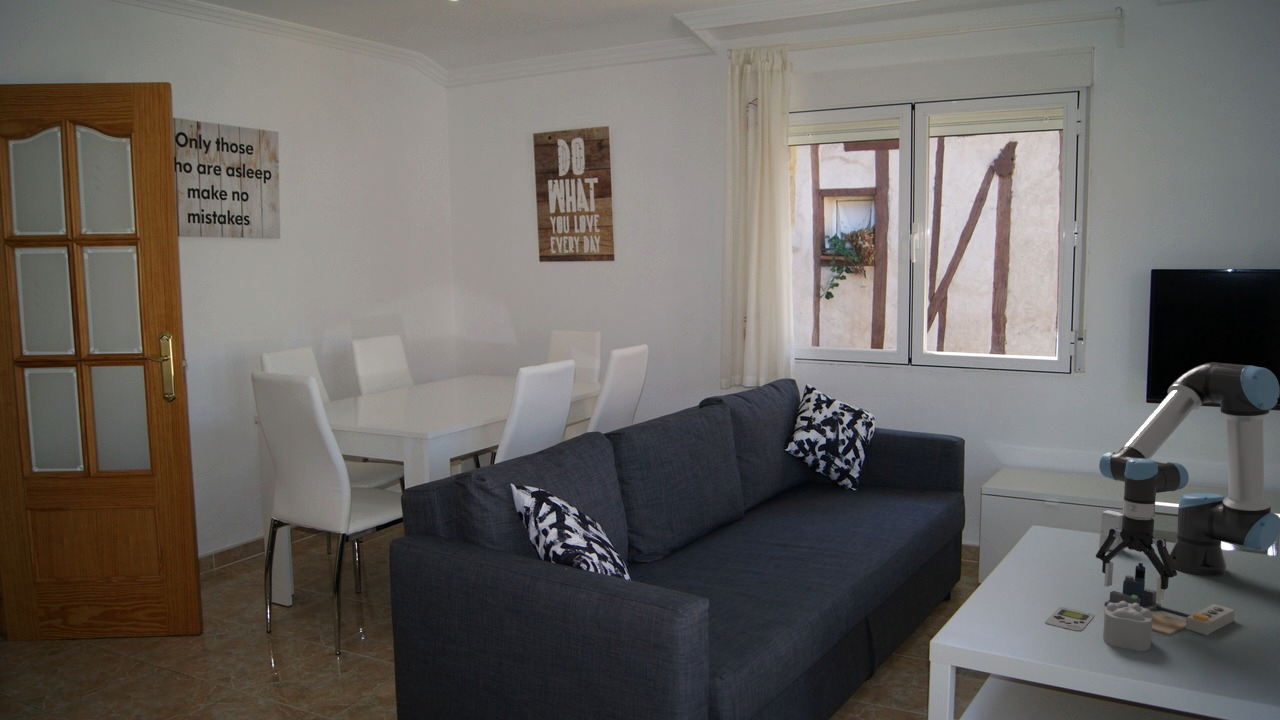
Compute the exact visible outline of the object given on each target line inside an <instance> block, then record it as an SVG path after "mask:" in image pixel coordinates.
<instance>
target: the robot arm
mask: <svg viewBox="0 0 1280 720" xmlns="http://www.w3.org/2000/svg"><path fill="white" fill-rule="evenodd" d="M1279 398H1280V384H1279V380H1278V378H1277V377H1276V375H1275V374H1274V373H1273V371H1271V370H1270V369H1268V368H1266V367H1260V366H1256V365H1251V364H1250V365H1246V364H1237V363H1236V364H1235V363H1234V364H1233V363H1223V362H1215V361H1214V362H1208V363H1204V364H1200V365H1198V366H1195V367H1193V368H1191V369H1189V370H1187V371H1186V372H1185V373H1183V374H1182V375H1180V376H1179V377H1178V378H1177V379H1175V380H1174V382H1173V383H1172V384H1171V385H1170V386H1169V387H1168V389H1167V395H1166V396H1165V398H1164V399H1163V400H1162V401H1161V402H1160V403H1159V404H1158V405H1157V407H1156V408H1155V409H1154V410H1153V411H1152V412H1151V414H1150V415H1149V416H1148V417H1147V418H1146V419H1145V420H1144V421H1143V423H1142V424H1141V425H1140V426H1139V427H1138V428H1137V430H1136V431H1135V432H1134V433H1133V434H1132V435H1131V437H1129V439H1128V440H1127V441H1126V442H1125V444H1124V445H1122V447H1121V448H1120V449H1119V450H1118V451H1117V452H1111V451H1110V452H1106V453H1104V454H1103V455H1102V456H1101V457H1100V460H1099V463H1098V467H1099V472H1100V473H1101V474H1102V476H1104V477H1105V478H1108V479H1111V480H1114V481H1116V482H1117V481H1118V482H1123V483H1124V487H1123V488H1124V491H1123V492H1124V493H1123V505H1122V513H1123V514H1125V515H1123V516H1122V531H1120V530H1118V529H1117V528H1112V529H1110V530H1109V535H1108V537H1107V539H1106V540H1105V542H1104V543H1103V545H1102V546H1101V547H1099V549H1098V551H1097V553H1096V554H1095V558H1096V559H1099V560H1101V561H1102V574H1104V587H1106V588H1107V587H1111V586H1113V578H1114V577H1113V574H1114V561H1112V560H1113V559H1114V558H1115V557H1116V556H1117V555H1119V554H1120V553H1121V552H1122V551H1123V550H1125V549H1126V548H1127V549H1128V550H1131V551H1133V550H1134V551H1137V552H1139V553H1141V552H1143V554H1144V555H1145V556H1146V557H1147V558H1148V560H1149V561H1150V562H1151V564H1152V565H1153V567H1154V568H1155V570H1156V571H1157V573H1158V574H1159V576H1157V578H1156V579H1157V580H1156V591H1157V592H1156V602H1158V603H1159V602H1162V601H1164V599H1165V591H1166V590H1168V588H1169V579H1170V578H1173V577H1176V576H1178V571H1181V572H1184V573H1188V574H1193V575H1198V576H1199V575H1201V576H1207V577H1208V576H1209V577H1210V576H1212V577H1213V576H1215V577H1216V576H1223V575H1225V574H1227V562H1226V560H1225V557H1224V556H1225V555H1224V553H1223V552H1224V551H1223V550H1222V542H1224V543H1227V544H1230V545H1232V546H1233V545H1234V546H1237V547H1240V548H1244V549H1245V550H1253V551H1256V552H1263V551H1266V550H1269V549H1270V548H1272V546H1273V545H1274V544H1275V543H1276V541H1277V540H1278V538H1279V535H1280V516H1279V515H1278V514H1276V513H1275V512H1272V511H1271V510H1272V509H1271V508H1272V507H1271V505H1272V503H1271V502H1270V501H1269V500H1267V499H1266V498H1265V469H1264V468H1265V457H1264V456H1265V455H1264V454H1265V453H1264V449H1265V448H1264V418H1266V417H1267V416H1268V415H1269V414H1270V410H1272V409H1273V408H1275V406H1276V405H1277V403H1278V402H1279V401H1278V399H1279ZM1205 403H1216V404H1220V413H1221V414H1222V415H1223V416H1225V417H1226V428H1227V429H1226V433H1227V435H1226V436H1227V472H1228V473H1227V475H1228V476H1227V478H1228V479H1227V480H1228V481H1227V482H1228V483H1227V485H1228V495H1227V496H1226V497H1225V495H1222V494H1219V493H1217V494H1216V493H1207V492H1205V493H1204V492H1195V493H1194V492H1193V493H1191V492H1190V493H1185V494H1182V495H1181V496H1180V497H1179V501H1178V507H1177V511H1178V512H1177V527H1176V540H1175V543H1174V544H1173V547H1172V549H1171V551H1170V553H1169V551H1168V548H1167V540H1166V539H1165V538H1154V529H1155V528H1154V527H1155V519H1154V517H1155V514H1156V513H1155V512H1156V497H1157V494H1158V493H1159V494H1160V493H1166V492H1176V491H1179V490H1182V489H1184V488H1185V487H1186V486H1188V483H1189V478H1190V477H1189V476H1190V475H1189V471H1188V470H1187V468H1186V467H1185V466H1184V465H1183V464H1180V463H1178V462H1159V461H1155V460H1153V459H1152V457H1153V456H1154V455H1155V454H1156V453H1157V451H1158V450H1159V449H1160V448H1161V447H1162V446H1163V445H1164V443H1166V441H1168V439H1169V438H1170V436H1171V435H1172V434H1173V433H1174V432H1175V431H1176V430H1177V428H1178V427H1179V426H1180V425H1181V423H1183V421H1184V420H1185V419H1186V418H1187V417H1188V416H1189V414H1190V413H1191V412H1192V411H1195V410H1198V409H1199V408H1201V407H1202V406H1203V404H1205ZM1119 535H1120V537H1121V538H1122V540H1123V542H1121V543H1120V544H1119V545H1118V546H1117V547H1116V548H1115V549H1113V550H1109V548H1110V547H1111V545H1112V543H1113V542H1114V540H1115V539H1116V537H1118V536H1119ZM1153 544H1154V546H1155V548H1157V552H1158V554H1159V556H1158V555H1157V553H1156V552H1155V548H1154V547H1153V546H1152V545H1153ZM1108 551H1110V552H1108ZM1107 552H1108V553H1107ZM1177 570H1178V571H1177Z"/></svg>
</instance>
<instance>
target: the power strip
mask: <svg viewBox="0 0 1280 720" xmlns="http://www.w3.org/2000/svg"><path fill="white" fill-rule="evenodd" d="M1235 612H1236V611H1235V609H1233V608H1230V607H1225V606H1222V605H1218V604H1215V603H1213V604H1211V605H1208V606H1206V607H1205V608H1203V609H1200V610H1198V611H1196V612H1194V613H1192V614H1189V615H1190V616H1188V617H1185V621H1186V627H1185V630H1189V631H1192V632H1195V633H1199V634H1202V635H1205V636H1208V635H1210V634H1212V633H1214V632H1216V631H1217V630H1219V629H1221V628H1224V627H1225V626H1227V625H1229V624H1231V623H1232V622H1234V621H1235Z"/></svg>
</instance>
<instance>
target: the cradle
mask: <svg viewBox="0 0 1280 720" xmlns="http://www.w3.org/2000/svg"><path fill="white" fill-rule="evenodd" d="M1109 592H1110V593H1109V600H1106V601H1104V606H1105V607H1106V606H1107V604H1108V603H1119V602H1120V601H1126V602H1127V603H1130V604H1133V603H1138V604H1139V605H1140V598H1138V596H1136V595H1131V596H1130V595H1127V594H1124V593H1123V592H1119V591H1116V590H1112V591H1109ZM1156 592H1157V590H1154V589H1150V588H1147V587H1144V591H1143V605H1144V606H1147V607H1144V608H1145V609H1149V610H1150V611H1153V612H1154V611H1156V610H1157V609H1158V610H1161V611H1165V612H1169V613H1172V614H1175V615H1178V616H1180V617H1181V616H1182V617H1185V618H1186V617H1188V616H1190V615H1191V614H1188V613H1186V612H1182V611H1179V610H1174V609H1172V608H1167V607H1164V606H1162V603H1159V602H1158V603H1157V601H1156Z"/></svg>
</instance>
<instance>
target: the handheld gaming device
mask: <svg viewBox="0 0 1280 720" xmlns="http://www.w3.org/2000/svg"><path fill="white" fill-rule="evenodd" d="M1095 617H1096V614H1094V613H1091V612H1087V611H1084V610H1083V611H1082V610H1078V609H1073V608H1069V607H1065V606H1058V608H1057V609H1056V610H1055V611H1054V612H1053V613H1052V614H1051V615H1050V616H1049V617H1048V618H1047V619H1046V620H1045V621H1044V624H1045V625H1049V626H1052V627H1053V626H1054V627H1057V628H1062V629H1067V630H1070V631H1073V632H1074V631H1075V632H1081V631H1084V629H1086V627H1087V626H1088V625H1089V623H1090V622H1091V621H1092V620H1093V619H1094V618H1095Z"/></svg>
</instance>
